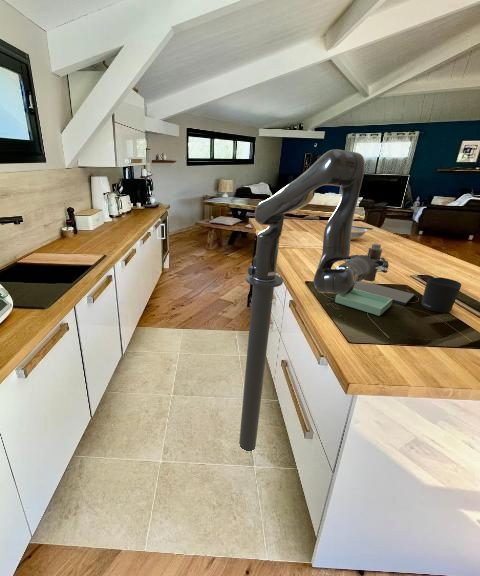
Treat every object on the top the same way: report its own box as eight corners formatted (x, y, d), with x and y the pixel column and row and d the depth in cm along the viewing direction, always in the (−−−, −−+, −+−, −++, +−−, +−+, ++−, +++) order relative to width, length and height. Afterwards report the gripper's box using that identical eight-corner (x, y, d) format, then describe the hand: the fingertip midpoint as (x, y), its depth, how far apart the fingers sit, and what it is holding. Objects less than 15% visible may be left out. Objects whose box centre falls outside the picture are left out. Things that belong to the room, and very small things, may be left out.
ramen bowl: (320, 238, 212) (322, 226, 209) (335, 233, 226) (337, 222, 223) (358, 245, 195) (361, 232, 192) (372, 239, 210) (375, 227, 206)
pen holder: (416, 300, 117) (424, 275, 113) (447, 304, 114) (456, 279, 110) (423, 310, 109) (431, 284, 105) (456, 315, 106) (466, 288, 102)
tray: (334, 302, 115) (336, 295, 114) (348, 293, 123) (349, 287, 122) (379, 316, 105) (381, 309, 104) (391, 305, 113) (392, 299, 112)
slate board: (348, 289, 126) (349, 287, 126) (359, 282, 134) (360, 280, 134) (405, 305, 113) (405, 302, 113) (413, 296, 121) (414, 294, 120)
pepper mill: (360, 279, 111) (368, 244, 106) (364, 276, 113) (372, 242, 108) (372, 282, 108) (381, 246, 103) (376, 279, 111) (385, 244, 106)
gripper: (384, 263, 93) (401, 252, 104) (336, 252, 102) (356, 244, 113) (378, 286, 95) (395, 273, 106) (332, 274, 105) (352, 264, 116)
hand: (375, 258), depth 110 cm, fingers closed on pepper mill, 4 cm apart
